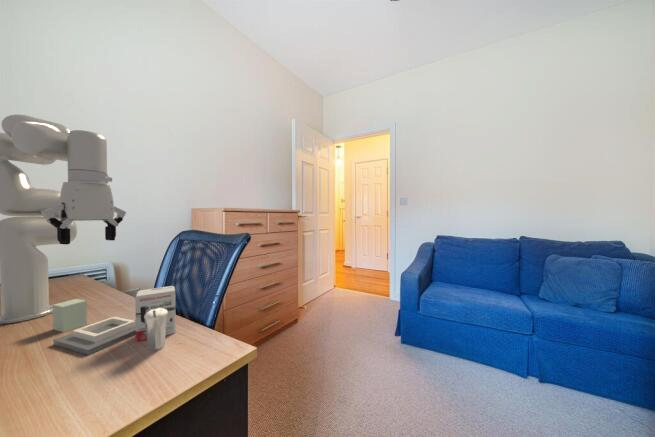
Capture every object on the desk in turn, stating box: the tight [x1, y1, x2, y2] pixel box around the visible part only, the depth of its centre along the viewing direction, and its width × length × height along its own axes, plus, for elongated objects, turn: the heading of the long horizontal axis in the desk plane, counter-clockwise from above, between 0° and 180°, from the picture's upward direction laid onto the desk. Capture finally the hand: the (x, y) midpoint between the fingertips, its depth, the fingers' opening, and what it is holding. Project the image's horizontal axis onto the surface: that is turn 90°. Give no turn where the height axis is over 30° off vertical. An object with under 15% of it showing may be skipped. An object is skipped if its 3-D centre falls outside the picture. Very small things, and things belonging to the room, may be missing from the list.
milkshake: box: [144, 308, 168, 352], centre depth 57 cm, size 5×5×10 cm
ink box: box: [135, 285, 176, 343], centre depth 64 cm, size 8×5×12 cm, turn 123°
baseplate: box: [53, 316, 136, 356], centre depth 63 cm, size 14×14×3 cm
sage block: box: [52, 298, 88, 333], centre depth 69 cm, size 5×5×7 cm
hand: (89, 242), depth 65 cm, fingers open, 9 cm apart
